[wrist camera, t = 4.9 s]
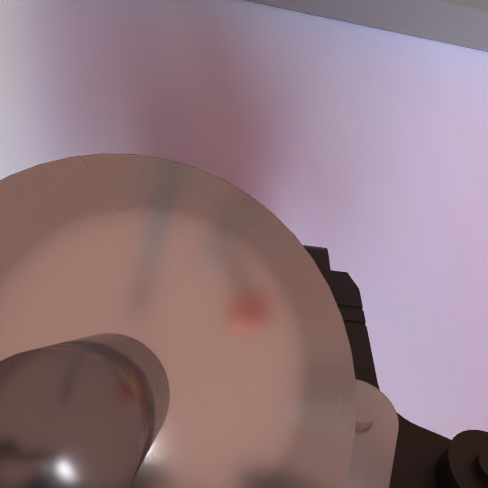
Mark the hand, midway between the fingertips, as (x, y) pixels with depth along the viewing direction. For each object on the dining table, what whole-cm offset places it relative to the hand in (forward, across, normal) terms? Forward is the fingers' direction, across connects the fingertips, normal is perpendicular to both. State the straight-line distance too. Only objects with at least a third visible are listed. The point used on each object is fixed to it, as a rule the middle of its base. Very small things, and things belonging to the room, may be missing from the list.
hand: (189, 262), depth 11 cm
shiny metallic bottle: (+2, 0, +5) cm, 5 cm away
